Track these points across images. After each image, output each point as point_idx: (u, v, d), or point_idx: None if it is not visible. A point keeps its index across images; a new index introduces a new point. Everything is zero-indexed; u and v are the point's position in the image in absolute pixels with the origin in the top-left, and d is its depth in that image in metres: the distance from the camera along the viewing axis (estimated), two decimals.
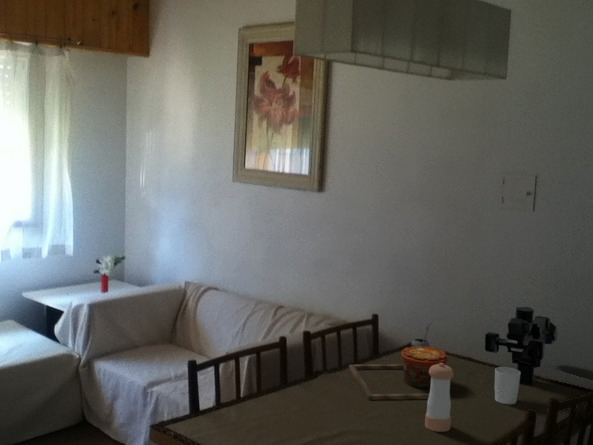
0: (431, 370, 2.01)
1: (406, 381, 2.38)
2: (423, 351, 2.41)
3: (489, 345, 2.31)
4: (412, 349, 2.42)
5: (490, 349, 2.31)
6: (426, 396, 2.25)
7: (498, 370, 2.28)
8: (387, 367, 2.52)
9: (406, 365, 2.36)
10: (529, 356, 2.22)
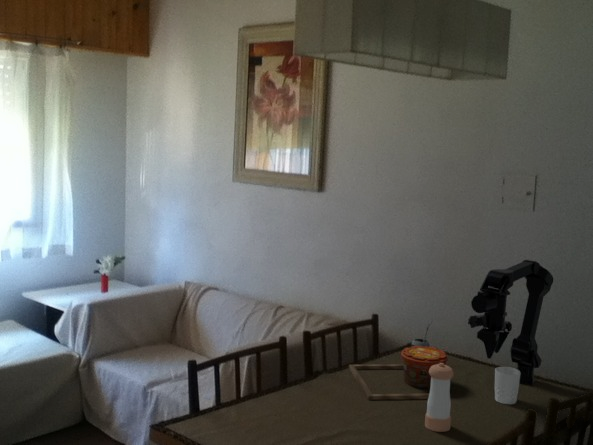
0: (431, 370, 2.01)
1: (406, 381, 2.38)
2: (423, 351, 2.41)
3: None
4: (412, 349, 2.42)
5: None
6: (426, 396, 2.25)
7: (498, 370, 2.28)
8: (387, 367, 2.52)
9: (406, 365, 2.36)
10: (493, 347, 2.24)
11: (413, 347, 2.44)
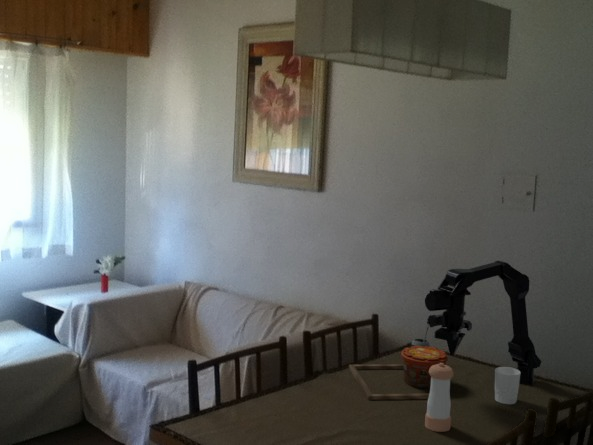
0: (431, 370, 2.01)
1: (406, 381, 2.38)
2: (423, 351, 2.41)
3: None
4: (412, 349, 2.42)
5: None
6: (426, 396, 2.25)
7: (498, 370, 2.28)
8: (387, 367, 2.52)
9: (406, 365, 2.36)
10: (455, 344, 2.26)
11: (413, 347, 2.44)
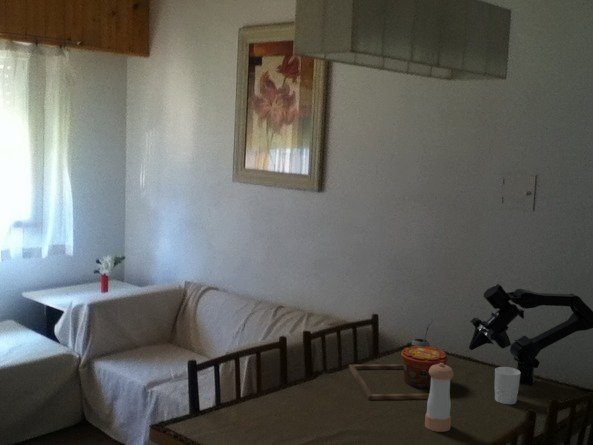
0: (431, 370, 2.01)
1: (406, 381, 2.38)
2: (423, 351, 2.41)
3: (485, 337, 2.38)
4: (412, 349, 2.42)
5: (483, 334, 2.38)
6: (426, 396, 2.25)
7: (498, 370, 2.28)
8: (387, 367, 2.52)
9: (406, 365, 2.36)
10: None
11: (413, 347, 2.44)
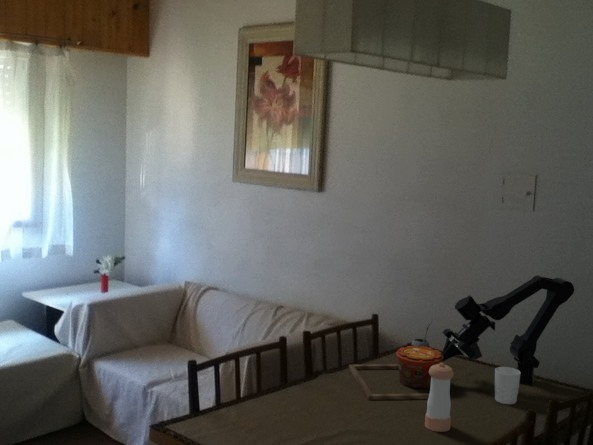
0: (431, 370, 2.01)
1: (401, 381, 2.38)
2: (418, 350, 2.40)
3: (456, 349, 2.37)
4: (408, 348, 2.42)
5: (453, 346, 2.37)
6: (426, 396, 2.25)
7: (498, 370, 2.28)
8: (387, 367, 2.52)
9: (401, 365, 2.36)
10: None
11: (408, 347, 2.44)
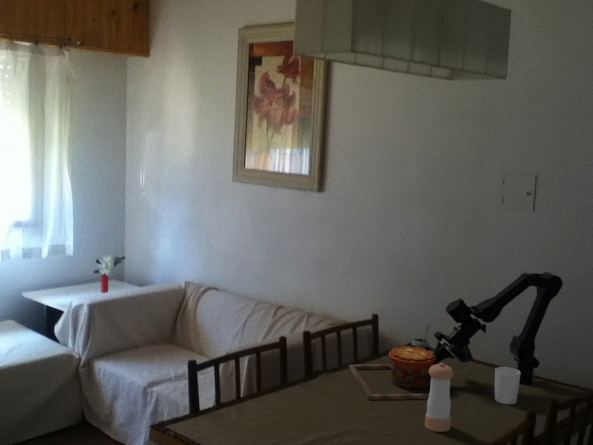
0: (431, 370, 2.01)
1: (393, 381, 2.37)
2: (411, 351, 2.40)
3: (447, 352, 2.37)
4: (401, 349, 2.42)
5: (444, 349, 2.37)
6: (426, 396, 2.25)
7: (498, 370, 2.28)
8: (387, 367, 2.52)
9: (393, 365, 2.36)
10: None
11: (402, 347, 2.43)
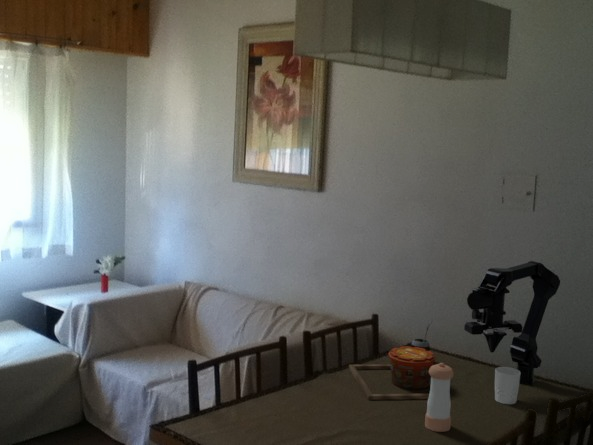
0: (431, 370, 2.01)
1: (393, 381, 2.37)
2: (411, 351, 2.40)
3: None
4: (400, 349, 2.42)
5: None
6: (426, 396, 2.25)
7: (498, 370, 2.28)
8: (387, 367, 2.52)
9: (392, 365, 2.36)
10: (490, 340, 2.32)
11: (402, 347, 2.43)
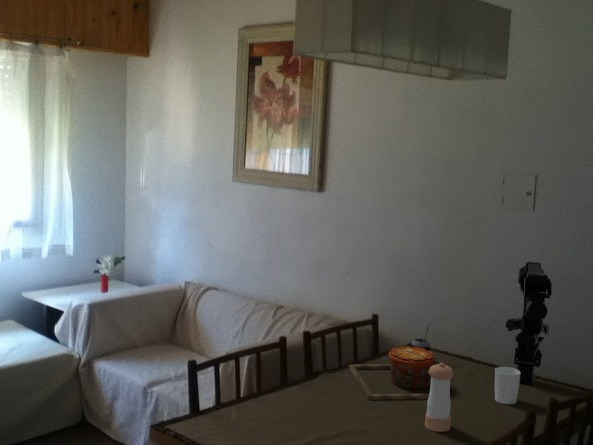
0: (431, 370, 2.01)
1: (393, 381, 2.37)
2: (411, 351, 2.40)
3: None
4: (400, 349, 2.42)
5: None
6: (426, 396, 2.25)
7: (498, 370, 2.28)
8: (387, 367, 2.52)
9: (392, 365, 2.36)
10: (534, 347, 2.26)
11: (402, 347, 2.43)
